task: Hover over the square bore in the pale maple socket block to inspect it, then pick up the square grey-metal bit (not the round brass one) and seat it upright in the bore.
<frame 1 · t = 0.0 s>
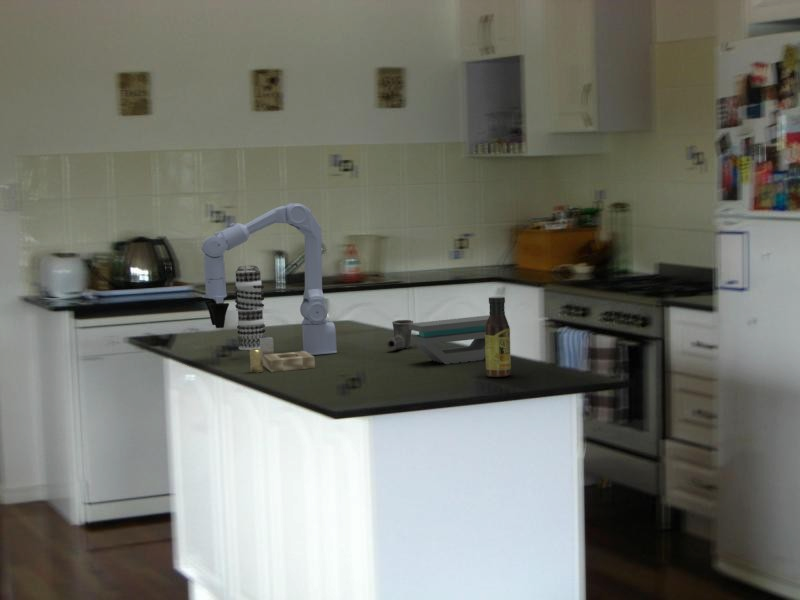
hand: (218, 326, 359), 10 cm above the countertop, fingers open, 7 cm apart
square bit: (267, 362, 354), on the countertop
pipe: (400, 350, 369), on the countertop
decorative candle: (252, 348, 385), on the countertop
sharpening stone: (457, 361, 344), on the countertop
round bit: (256, 371, 339), on the countertop
sauce bottle: (498, 376, 317), on the countertop
socket block: (288, 366, 346), on the countertop
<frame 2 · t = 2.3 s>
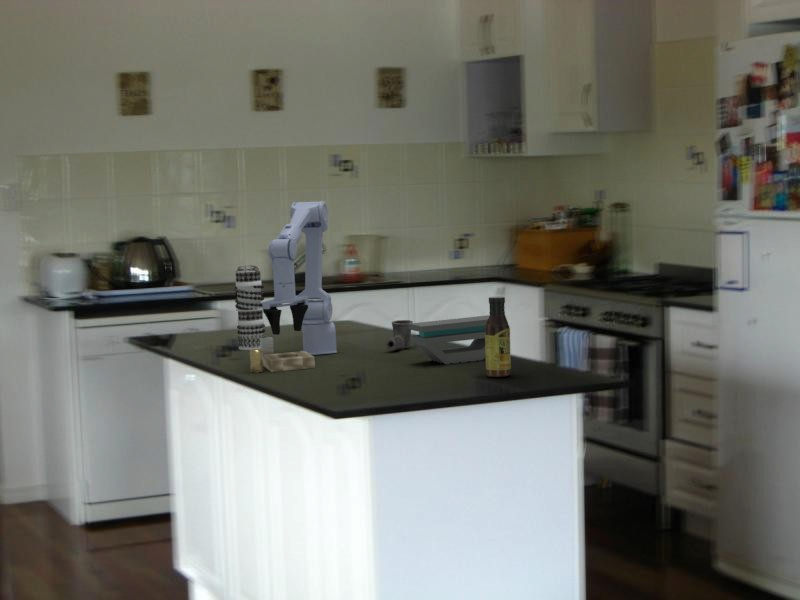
hand: (287, 332, 345), 9 cm above the countertop, fingers open, 7 cm apart
nothing on the countertop moved.
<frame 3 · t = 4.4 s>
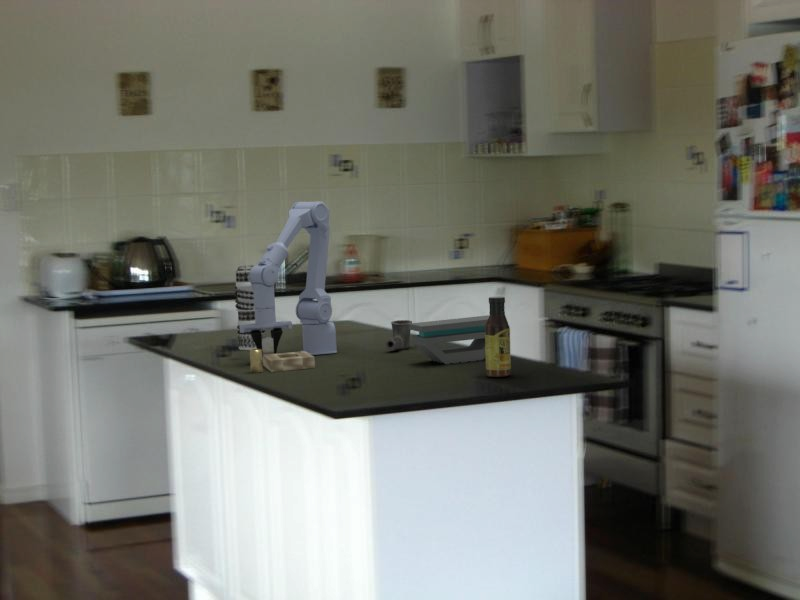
hand: (267, 356, 354), 2 cm above the countertop, fingers closed on square bit, 3 cm apart
square bit: (267, 362, 354), on the countertop, touching gripper
everything else where it was.
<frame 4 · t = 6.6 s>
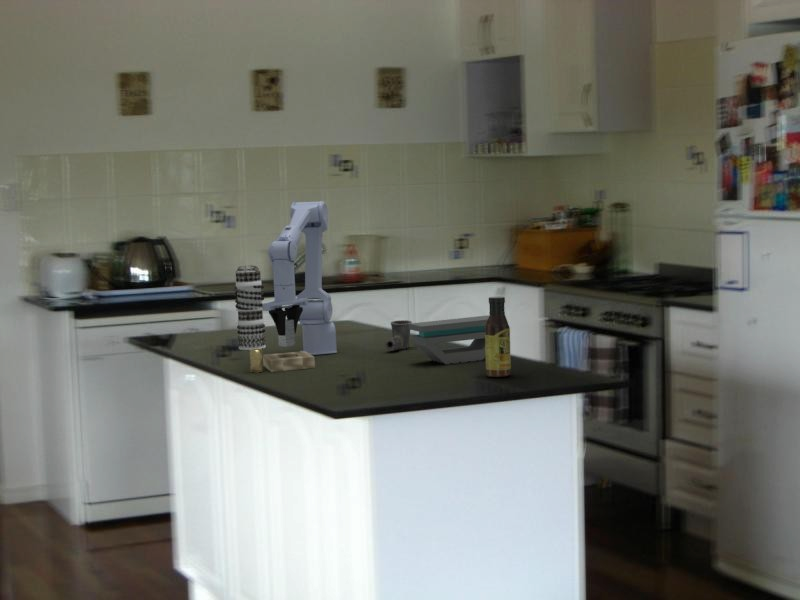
hand: (287, 334, 345), 9 cm above the countertop, fingers closed on square bit, 3 cm apart
square bit: (287, 345, 345), point 6 cm above the countertop, touching gripper
everything else where it was.
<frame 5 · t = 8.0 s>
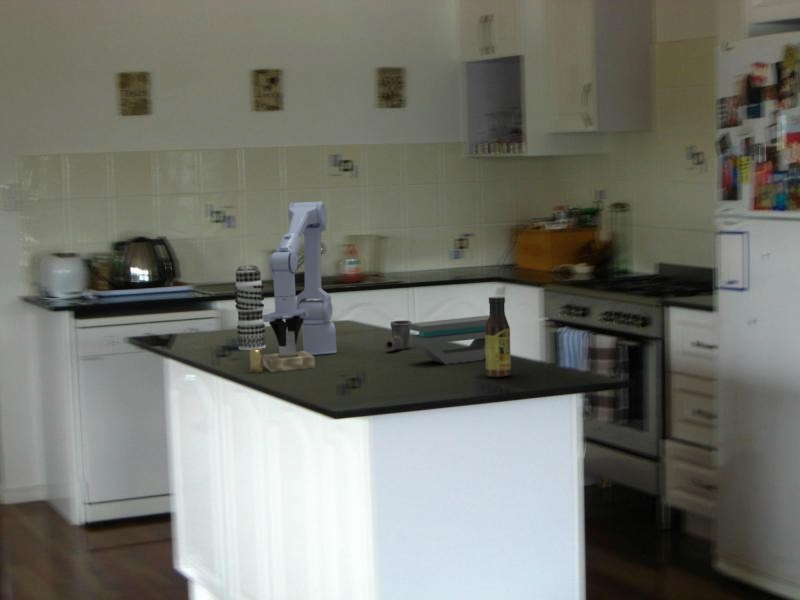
hand: (287, 345, 345), 6 cm above the countertop, fingers closed on square bit, 3 cm apart
square bit: (287, 356, 345), point 3 cm above the countertop, touching gripper
when the fingers open (4 cm above the countertop, at t = 8.9 s): square bit stays where it is, resting in socket block.
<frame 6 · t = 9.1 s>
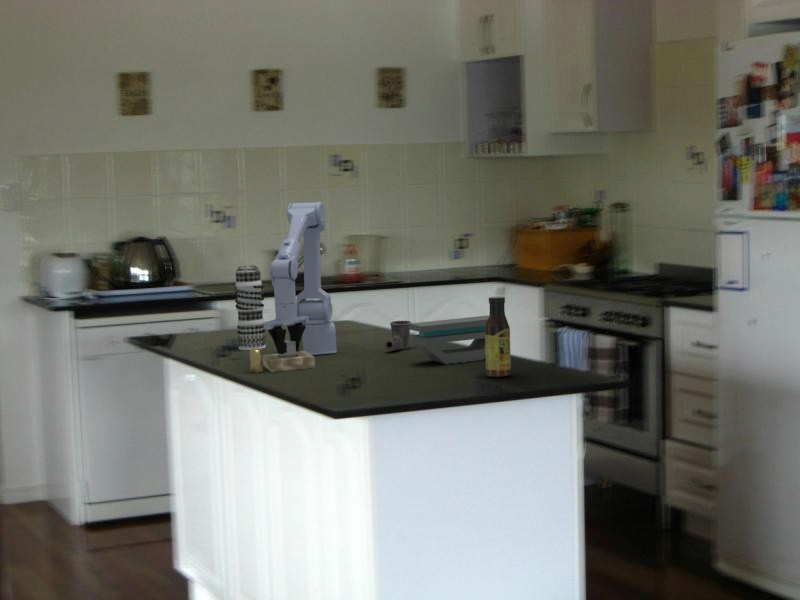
hand: (288, 352, 345), 4 cm above the countertop, fingers open, 4 cm apart
square bit: (288, 366, 346), resting in socket block
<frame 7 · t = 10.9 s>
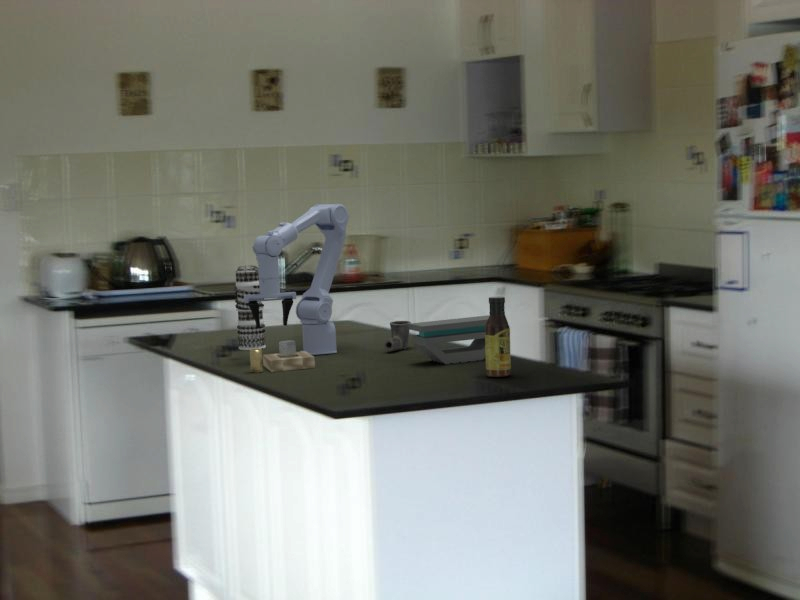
hand: (271, 326, 355), 10 cm above the countertop, fingers open, 7 cm apart
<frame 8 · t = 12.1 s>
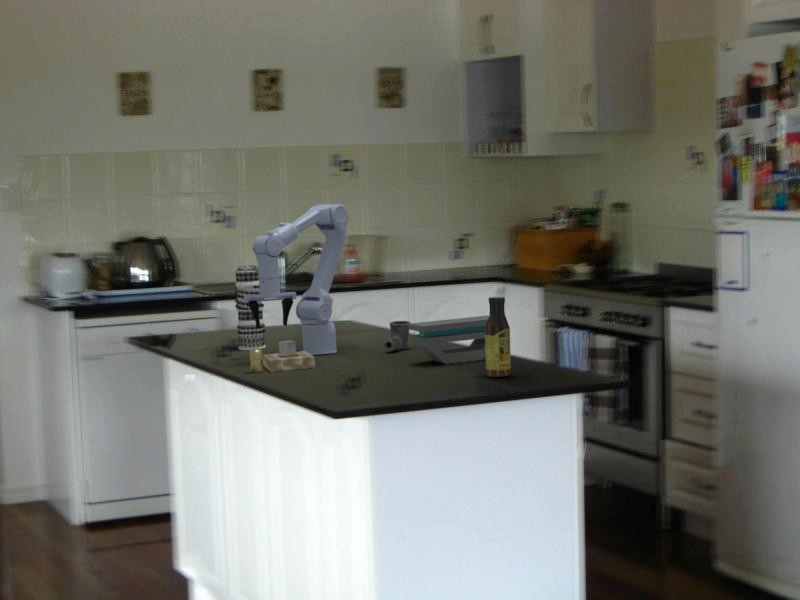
hand: (271, 326, 355), 10 cm above the countertop, fingers open, 7 cm apart
at the end: square bit 0.2 cm off-centre on the socket block, point 0.0 cm above the socket block's base; square bit tilted 0°; the gripper is holding nothing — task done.
